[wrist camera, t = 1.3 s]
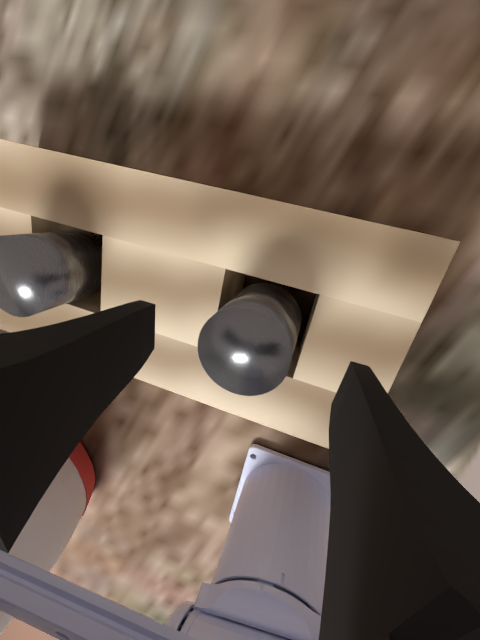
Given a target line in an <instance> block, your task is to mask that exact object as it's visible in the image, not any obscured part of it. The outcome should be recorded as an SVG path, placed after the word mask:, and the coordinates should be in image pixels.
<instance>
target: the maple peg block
mask: <svg viewBox="0 0 480 640" xmlns="http://www.w3.org/2000/svg"><path fill="white" fill-rule="evenodd" d="M69 230H78V231H82V232H84V233H86V234H88V235H90V236H91V237H92V238H93V233H97V234H101V235H103V240H102V277H101V290H100V291H99V292H97V293H95V294H92V295H89V296H86V297H83V298H81V299H78V300H75V301H72V302H69V303H66V304H63V305H60V306H58V307H55V308H52V309H49V310H46V311H43V312H40V313H37V314H34V315H32V316H29V317H16V316H13V315H11V314H8V313H7V312H5V311H4V310H2V309H1V308H0V329H2V330H5V331H7V332H10V333H11V332H17V331H23V330H28V329H33V328H39V327H43V326H48V325H52V324H56V323H60V322H64V321H68V320H71V319H75V318H79V317H83V316H86V315H90V314H93V313H96V312H100V311H103V310H106V309H110V308H113V307H116V306H119V305H123V304H126V303H130V302H134V301H138V300H142V301H146V302H149V303H153V304H156V306H155V348H154V350H153V352H152V353H151V355H150V356H149V358H148V359H147V361H146V362H145V364H144V365H143V367H142V368H141V369H140V371H139V372H138V373H137V374H136V375H135V376H134V377H133V378H136V379H139V380H141V381H144V382H147V383H150V384H152V385H155V386H158V387H161V388H163V389H166V390H169V391H171V392H174V393H177V394H180V395H182V396H185V397H188V398H191V399H193V400H196V401H199V402H202V403H204V404H207V405H210V406H212V407H215V408H218V409H221V410H223V411H226V412H229V413H232V414H234V415H237V416H240V417H243V418H245V419H248V420H251V421H254V422H256V423H259V424H262V425H264V426H267V427H270V428H273V429H275V430H278V431H281V432H284V433H286V434H289V435H292V436H295V437H297V438H300V439H303V440H305V441H308V442H311V443H314V444H316V445H319V446H322V447H325V448H327V449H329V421H330V412H331V404H332V401H333V399H334V397H335V395H336V393H337V390H338V388H339V386H340V384H341V381H342V379H343V377H344V375H345V373H346V370H347V368H348V366H349V364H350V362H351V361H353V362H356V363H360V364H363V365H367V366H369V367H370V368H371V369H372V371H373V372H374V374H375V375H376V377H377V378H378V380H379V381H380V383H381V384H382V386H383V387H384V389H385V390H386V392H387V393H388V392H389V390H390V388H391V386H392V384H393V382H394V379H395V377H396V375H397V373H398V371H399V369H400V367H401V365H402V363H403V361H404V359H405V356H406V354H407V352H408V350H409V348H410V346H411V344H412V342H413V340H414V338H415V336H416V333H417V331H418V329H419V327H420V325H421V323H422V321H423V319H424V317H425V315H426V313H427V310H428V308H429V306H430V304H431V302H432V300H433V298H434V296H435V294H436V292H437V289H438V287H439V285H440V283H441V281H442V279H443V277H444V275H445V273H446V271H447V269H448V266H449V264H450V262H451V260H452V258H453V256H454V254H455V252H456V250H457V248H458V246H459V243H460V242H458V241H454V240H450V239H446V238H442V237H437V236H433V235H429V234H425V233H420V232H416V231H411V230H407V229H402V228H398V227H393V226H389V225H384V224H380V223H375V222H371V221H366V220H362V219H357V218H353V217H348V216H344V215H340V214H335V213H331V212H326V211H322V210H317V209H313V208H308V207H304V206H299V205H295V204H290V203H286V202H281V201H277V200H272V199H268V198H263V197H259V196H254V195H250V194H245V193H241V192H236V191H232V190H227V189H223V188H218V187H214V186H209V185H205V184H201V183H196V182H192V181H187V180H183V179H178V178H174V177H169V176H165V175H160V174H156V173H151V172H147V171H142V170H138V169H133V168H129V167H124V166H120V165H115V164H111V163H106V162H102V161H97V160H93V159H88V158H84V157H79V156H75V155H70V154H66V153H62V152H57V151H53V150H48V149H44V148H39V147H35V146H30V145H25V144H21V143H16V142H12V141H7V140H2V139H0V236H1V235H15V234H28V233H42V232H56V231H69ZM246 275H250V276H254V277H257V278H261V279H265V280H268V281H272V282H276V283H279V284H283V285H287V286H290V287H294V288H297V289H301V290H305V291H308V292H312V293H316V297H315V301H314V304H313V307H312V310H311V313H310V316H309V319H308V323H307V326H306V329H305V332H304V335H303V338H302V342H300V341H297V342H296V345H295V349H294V353H293V356H292V360H291V364H290V368H289V371H288V373H287V375H286V377H285V379H284V380H283V381H282V383H281V384H280V385H279V386H277V387H276V388H275V389H273V390H272V391H270V392H268V393H265V394H262V395H257V396H243V395H238V394H235V393H232V392H229V391H227V390H225V389H223V388H222V387H220V386H219V385H217V384H216V383H215V382H214V381H213V380H212V379H211V378H210V377H209V376H208V374H207V373H206V372H205V370H204V368H203V367H202V364H201V362H200V359H199V355H198V338H199V334H200V331H201V329H202V327H203V326H204V324H205V323H206V322H207V320H208V319H210V318H211V317H212V316H213V315H214V314H215V313H216V312H217V311H219V310H220V309H221V308H222V307H223V306H224V305H225V304H227V303H228V302H229V301H230V300H231V299H232V298H233V297H235V296H236V295H237V294H238V293H239V292H240V291H241V290H242V289H243V285H244V280H245V276H246Z"/></svg>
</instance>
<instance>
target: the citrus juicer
mask: <svg viewBox="0 0 480 640" xmlns="http://www.w3.org/2000/svg"><path fill="white" fill-rule="evenodd" d="M94 485H95V472H94V468H93V465H92V462H91V460H90V458H89V456H88V454H87V452H86V451H85V449H84V446H83V444H82V442H81V441H80V442H79V443H78V445H77V446H76V447H75V449H74V450H73V452H72V453H71V455H70V456H69V458H68V459H67V461H66V462H65V463H64V465H63V466H62V468H61V469H60V471H59V472H58V474H57V475H56V477H55V478H54V480H53V481H52V483H51V485H50V486H49V488H48V489H47V491H46V492H45V494H44V495H43V497H42V498H41V500H40V502H39V503H38V505H37V506H36V508H35V510H34V511H33V513H32V515H31V516H30V518H29V520H28V521H27V523H26V524H25V526H24V528H23V529H22V531H21V533H20V534H19V536H18V538H17V539H16V541H15V543H14V545H13V546H12V548H11V550H10V552H9V553H8V554H10V555H13V556H15V557H17V558H19V559H21V560H24V561H26V562H28V563H30V564H32V565H35V566H37V567H39V568H41V569H43V570H46V571H48V572H49V571H50V570H51V569H52V567H53V566H54V564H55V563H56V562H57V560H58V558H59V557H60V555H61V553H62V552H63V550H64V548H65V547H66V545H67V543H68V542H69V540H70V538H71V536H72V534H73V532H74V530H75V528H76V526H77V524H78V522H79V520H80V518H81V516H82V515H83V514H84V512H85V510H86V508H87V505H88V503H89V500H90V498H91V495H92V492H93V489H94ZM13 619H14V617H12V616H10V615H8V614H6V613H4V612H2V611H0V635H1V634H2V633H3V632H4V630H5V629H6V628H7V626H8V625H9V624H10V623H11V621H12V620H13Z"/></svg>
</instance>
